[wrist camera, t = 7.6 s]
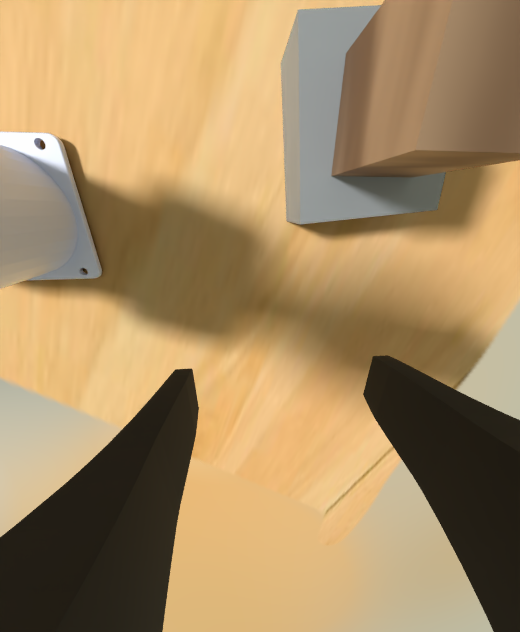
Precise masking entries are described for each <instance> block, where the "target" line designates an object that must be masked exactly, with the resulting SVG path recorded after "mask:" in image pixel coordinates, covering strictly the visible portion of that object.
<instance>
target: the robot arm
mask: <svg viewBox="0 0 520 632" xmlns="http://www.w3.org/2000/svg"><path fill="white" fill-rule="evenodd" d="M41 140H43V141H44V143H45V146H46V147H45V149H44V150H43V149H42V148H41V146H40V142H41ZM83 268H85V269H86V270H87V271H88V274H86V273H84V271H83ZM101 274H102V269H101V265H100V262H99V259H98V256H97V252H96V249H95V246H94V242H93V239H92V236H91V233H90V229H89V226H88V223H87V219H86V216H85V213H84V210H83V206H82V203H81V200H80V197H79V193H78V190H77V187H76V183H75V180H74V177H73V174H72V170H71V167H70V164H69V160H68V157H67V154H66V151H65V147H64V145H63V143H62V141H61V140H60V139H59V138H58V137H56V136H55V135H52V134H49V133H30V132H0V289H2V288H5V287H7V286H10V285H13V284H16V283H19V282H22V281H25V280H55V279H90V278H97V277H99V276H101ZM363 395H364V397H365V399H366V401H367V404H368V406H369V408H370V410H371V412H372V414H373V415H374V417H375V419H376V421H377V422H378V424H379V425H380V427H381V429H382V430H383V432H384V433H385V435H386V436H387V438H388V439H389V441H390V442H391V444H392V445H393V447H394V448H395V450H396V451H397V453H398V454H399V456H400V457H401V459H402V460H403V462H404V463H405V465H406V466H407V468H408V469H409V471H410V472H411V474H412V475H413V477H414V479H415V480H416V482H417V483H418V485H419V487H420V488H421V490H422V491H423V493H424V495H425V497H426V499H427V501H428V502H429V504H430V506H431V508H432V510H433V511H434V513H435V515H436V517H437V519H438V520H439V522H440V524H441V526H442V528H443V530H444V532H445V534H446V536H447V538H448V539H449V541H450V543H451V545H452V547H453V549H454V551H455V553H456V555H457V557H458V559H459V561H460V562H461V564H462V566H463V568H464V570H465V572H466V575H467V577H468V579H469V581H470V583H471V585H472V587H473V589H474V591H475V593H476V595H477V597H478V599H479V601H480V603H481V605H482V607H483V610H484V612H485V614H486V616H487V618H488V620H489V622H490V624H491V627H492V629H493V631H494V632H520V420H518V419H516V418H513V417H511V416H509V415H506V414H504V413H502V412H500V411H498V410H496V409H494V408H491V407H489V406H487V405H485V404H483V403H481V402H479V401H477V400H474V399H472V398H471V397H468V396H466V395H464V394H462V393H460V392H458V391H456V390H455V389H453V388H451V387H449V386H447V385H445V384H443V383H441V382H439V381H437V380H435V379H433V378H431V377H429V376H428V375H426V374H424V373H422V372H420V371H418V370H416V369H414V368H412V367H410V366H408V365H406V364H404V363H402V362H400V361H398V360H396V359H394V358H392V357H390V356H373V359H372V363H371V367H370V370H369V374H368V378H367V382H366V386H365V390H364V394H363ZM198 410H199V407H198V401H197V395H196V389H195V383H194V377H193V370H192V369H177V370H175V371H174V372H173V373H172V374H171V375H170V376H169V378H168V379H167V380H166V381H165V382H164V384H163V385H162V386H161V387H160V388H159V390H158V391H157V392H156V393H155V394H154V395H153V397H152V398H151V399H150V400H149V401H148V402H147V403H146V404H145V406H144V407H143V408H142V409H141V410H140V411H139V412H138V413H137V415H136V416H135V417H134V418H133V419H132V420H131V421H130V422H129V423H128V424H127V425H126V426H125V427H124V428H123V429H122V430H121V431H120V433H118V435H117V436H116V437H115V438H114V439H113V440H112V441H111V442H110V443H109V444H108V445H107V446H106V447H105V448H104V449H103V450H102V451H100V453H98V454H97V455H96V456H95V457H94V458H93V459H92V460H91V461H90V462H89V463H88V464H87V465H86V466H85V467H84V468H82V469H81V470H80V471H79V472H78V473H77V474H76V475H75V476H74V477H72V478H71V479H70V480H69V481H68V482H67V483H66V484H64V485H63V486H62V487H61V488H60V489H59V490H57V491H56V492H55V493H54V494H53V495H51V496H50V497H49V498H48V499H47V500H45V501H44V502H43V503H42V504H41V505H39V506H38V507H37V508H36V509H35V510H33V511H32V512H31V513H30V514H29V515H27V516H26V517H25V518H24V519H23V520H21V522H19V523H18V524H17V525H15V526H14V527H13V528H12V529H10V530H9V531H8V532H7V533H5V534H4V535H3V536H2V537H0V632H162V630H163V622H164V614H165V606H166V599H167V591H168V583H169V576H170V568H171V561H172V554H173V546H174V539H175V532H176V526H177V520H178V514H179V509H180V504H181V499H182V495H183V490H184V486H185V482H186V477H187V473H188V468H189V464H190V459H191V455H192V450H193V446H194V441H195V436H196V429H197V420H198Z"/></svg>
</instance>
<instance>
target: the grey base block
mask: <svg viewBox="0 0 520 632" xmlns="http://www.w3.org/2000/svg"><path fill="white" fill-rule="evenodd" d="M380 6H381V5H378V6H359V7H340V8H321V9H302V10H298V12H297V15H296V18H295V21H294V24H293V27H292V30H291V33H290V37H289V40H288V43H287V46H286V49H285V52H284V55H283V58H282V61H281V81H282V109H283V137H284V164H285V192H286V220H287V221H288V222H292V223H297V224H309V223H319V222H328V221H337V220H347V219H356V218H366V217H375V216H385V215H394V214H404V213H413V212H423V211H432V210H437V209H438V204H439V200H440V196H441V191H442V187H443V183H444V178H445V174H446V172H443V173H437V174H430V175H424V176H418V177H355V176H331V174H332V165H333V157H334V149H335V140H336V132H337V124H338V115H339V107H340V99H341V90H342V82H343V74H344V66H345V57H346V52H347V51H348V50H349V48H350V47H351V46H352V44H353V43H354V42H355V40H356V39H357V38H358V36H359V35H360V33H361V32H362V31H363V29H364V28H365V27H366V25H367V24H368V23H369V21H370V20H371V19H372V17H373V16H374V14H375V13H376V12H377V10H378V9H379V8H380Z"/></svg>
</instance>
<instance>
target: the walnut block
mask: <svg viewBox="0 0 520 632" xmlns="http://www.w3.org/2000/svg"><path fill="white" fill-rule="evenodd" d="M517 160H520V0H385V1H384V2H383V4H382V5H381V6H380V8H379V9H378V10H377V12H376V13H375V14H374V16H373V17H372V19H371V20H370V21H369V23H368V24H367V25H366V27H365V28H364V29H363V31H362V32H361V33H360V35H359V36H358V38H357V39H356V40H355V42H354V43H353V44H352V46H351V47H350V48H349V50H348V51H347V52H346V57H345V66H344V74H343V82H342V90H341V99H340V107H339V115H338V124H337V132H336V140H335V149H334V157H333V165H332V174H331V176H355V177H418V176H424V175H430V174H437V173H443V172H449V171H455V170H461V169H467V168H474V167H480V166H486V165H492V164H498V163H504V162H511V161H517Z"/></svg>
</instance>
